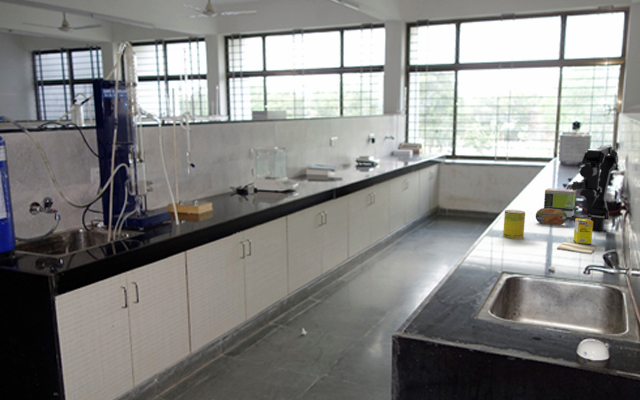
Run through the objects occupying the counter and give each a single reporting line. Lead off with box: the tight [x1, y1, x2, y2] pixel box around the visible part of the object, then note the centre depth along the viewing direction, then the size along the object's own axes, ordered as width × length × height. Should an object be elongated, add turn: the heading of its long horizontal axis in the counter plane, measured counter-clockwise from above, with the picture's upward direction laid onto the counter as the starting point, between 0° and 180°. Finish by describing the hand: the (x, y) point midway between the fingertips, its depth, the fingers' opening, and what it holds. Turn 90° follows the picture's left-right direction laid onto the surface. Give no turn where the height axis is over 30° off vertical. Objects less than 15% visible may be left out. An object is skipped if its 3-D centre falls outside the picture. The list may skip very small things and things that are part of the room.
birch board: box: [556, 241, 597, 255], centre depth 224 cm, size 13×13×1 cm
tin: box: [535, 207, 568, 226], centre depth 272 cm, size 15×3×8 cm, turn 68°
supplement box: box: [572, 218, 593, 246], centre depth 232 cm, size 6×6×11 cm
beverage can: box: [502, 209, 526, 240], centre depth 244 cm, size 9×9×12 cm
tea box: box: [543, 188, 577, 218], centre depth 295 cm, size 15×10×15 cm, turn 58°
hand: (589, 209), depth 245 cm, fingers closed
